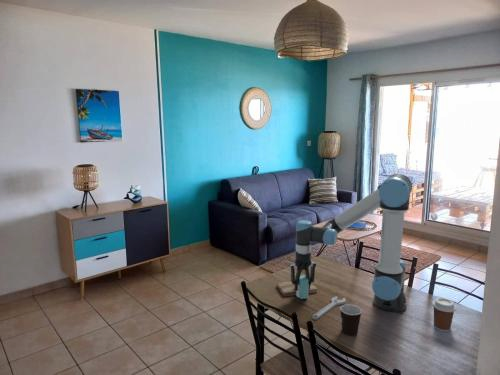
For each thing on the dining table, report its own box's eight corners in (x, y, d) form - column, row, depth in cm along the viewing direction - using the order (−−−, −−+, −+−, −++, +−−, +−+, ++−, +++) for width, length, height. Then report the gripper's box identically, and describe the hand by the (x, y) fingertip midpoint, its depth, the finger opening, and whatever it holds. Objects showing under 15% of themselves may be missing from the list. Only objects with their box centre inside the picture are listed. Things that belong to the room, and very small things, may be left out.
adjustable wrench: (316, 321, 163) (316, 318, 163) (305, 316, 168) (305, 312, 168) (347, 302, 180) (347, 299, 179) (336, 297, 184) (336, 294, 184)
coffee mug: (357, 339, 149) (358, 317, 147) (336, 333, 153) (337, 311, 152) (364, 326, 159) (365, 304, 157) (345, 320, 163) (346, 299, 161)
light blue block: (307, 298, 182) (308, 279, 180) (300, 299, 181) (300, 280, 179) (299, 288, 192) (300, 270, 190) (292, 289, 191) (293, 271, 190)
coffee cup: (441, 319, 163) (443, 294, 161) (459, 330, 155) (461, 304, 152) (425, 323, 160) (427, 298, 158) (442, 335, 152) (445, 308, 149)
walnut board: (317, 292, 189) (317, 288, 189) (284, 296, 185) (284, 292, 185) (308, 282, 201) (308, 279, 200) (276, 286, 197) (277, 282, 196)
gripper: (316, 247, 185) (314, 290, 189) (284, 250, 181) (283, 294, 185) (322, 252, 178) (320, 297, 182) (289, 255, 174) (288, 301, 178)
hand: (302, 295), depth 184 cm, fingers closed on light blue block, 4 cm apart
